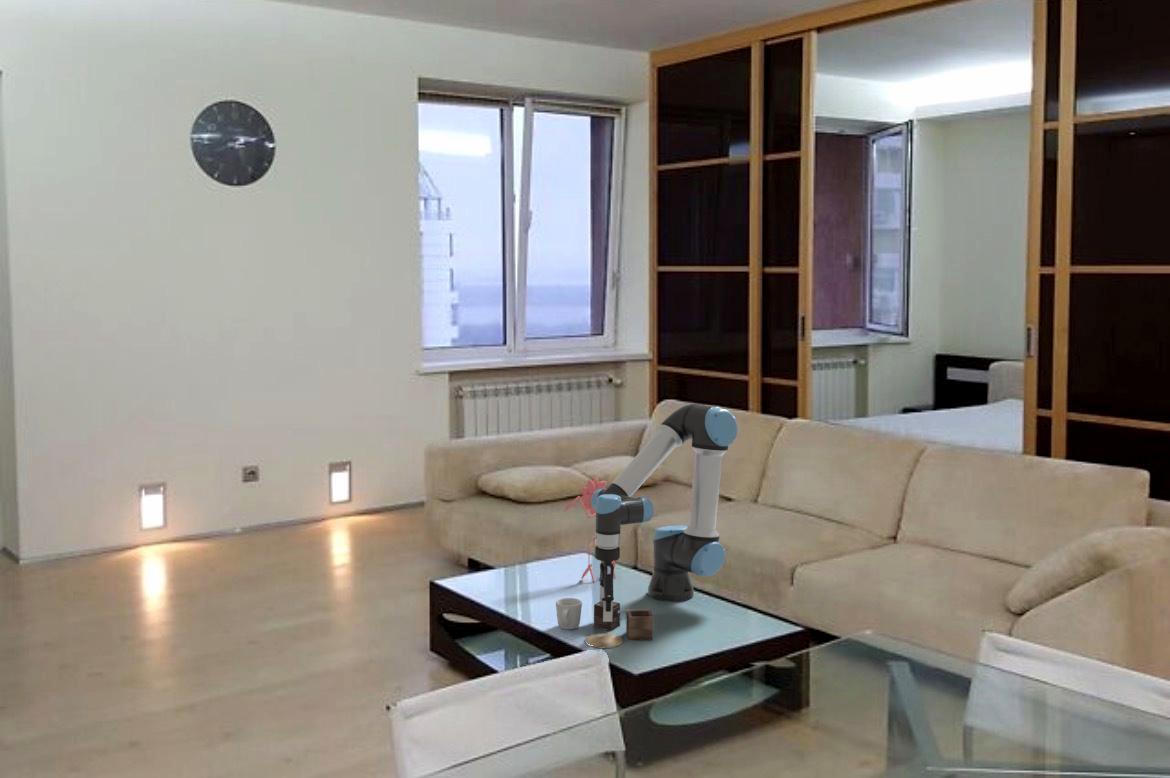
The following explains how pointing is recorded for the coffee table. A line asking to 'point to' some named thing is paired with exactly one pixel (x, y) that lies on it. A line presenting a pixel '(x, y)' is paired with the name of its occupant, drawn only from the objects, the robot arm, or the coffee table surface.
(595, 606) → the box
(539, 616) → the coffee table surface
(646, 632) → the pen pot
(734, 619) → the coffee table surface
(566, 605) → the cup
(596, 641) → the coaster
